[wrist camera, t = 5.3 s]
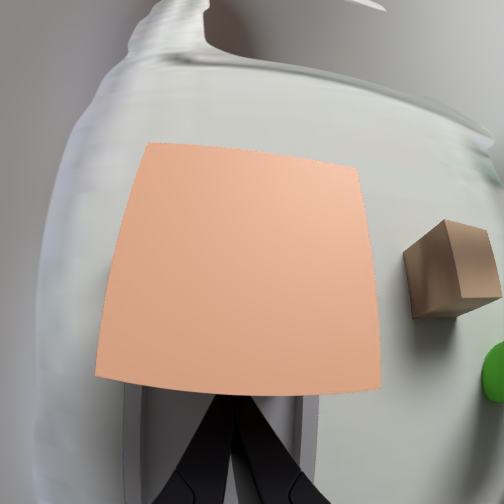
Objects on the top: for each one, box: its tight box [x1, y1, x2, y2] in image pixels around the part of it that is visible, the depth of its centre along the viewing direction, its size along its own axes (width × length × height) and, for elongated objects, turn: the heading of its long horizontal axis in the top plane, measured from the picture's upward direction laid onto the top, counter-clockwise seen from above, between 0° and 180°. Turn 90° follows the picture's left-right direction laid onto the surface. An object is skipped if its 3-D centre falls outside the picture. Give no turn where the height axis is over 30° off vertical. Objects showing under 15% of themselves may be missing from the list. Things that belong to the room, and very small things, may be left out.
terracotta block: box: [95, 143, 381, 396], centre depth 10 cm, size 6×6×9 cm
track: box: [123, 382, 319, 504], centre depth 12 cm, size 20×10×4 cm, turn 178°
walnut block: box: [403, 219, 502, 319], centre depth 16 cm, size 5×5×5 cm
